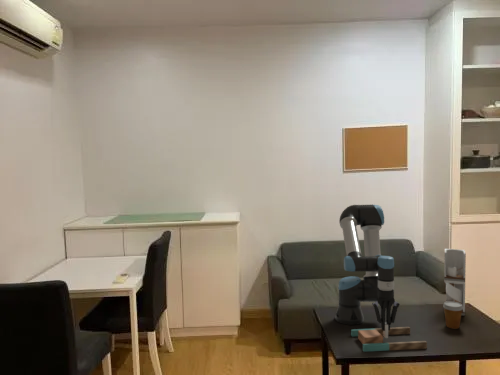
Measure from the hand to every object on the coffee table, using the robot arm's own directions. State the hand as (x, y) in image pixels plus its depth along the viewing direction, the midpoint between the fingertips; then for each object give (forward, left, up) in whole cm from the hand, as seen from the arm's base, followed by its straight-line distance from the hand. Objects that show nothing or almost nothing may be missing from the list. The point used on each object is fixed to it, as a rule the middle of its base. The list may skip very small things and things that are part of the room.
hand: (385, 336), depth 213 cm
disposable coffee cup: (+21, +39, -3) cm, 45 cm away
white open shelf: (+16, +64, -3) cm, 66 cm away
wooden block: (-6, -4, -3) cm, 8 cm away
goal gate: (-6, -5, -3) cm, 8 cm away
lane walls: (+5, +5, -3) cm, 7 cm away
